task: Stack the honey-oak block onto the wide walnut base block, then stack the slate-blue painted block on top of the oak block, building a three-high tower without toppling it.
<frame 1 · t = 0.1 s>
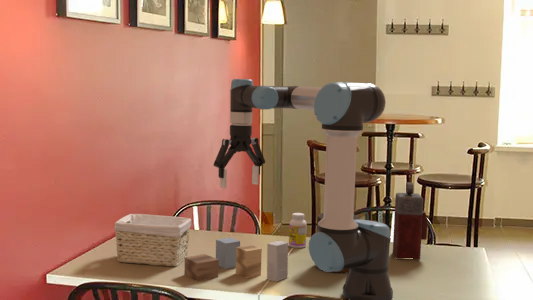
hand: (239, 185, 232), 28 cm above the table, tool pointing down, fingers open, 13 cm apart
wooden container: (336, 267, 236), on the table
base block: (201, 276, 221), on the table
skincare box: (276, 279, 221), on the table
storage basket: (153, 260, 238), on the table
red square decanter: (409, 257, 252), on the table
blue block: (227, 265, 234), on the table
supplement bottle: (297, 246, 263), on the table
oak block: (248, 274, 225), on the table
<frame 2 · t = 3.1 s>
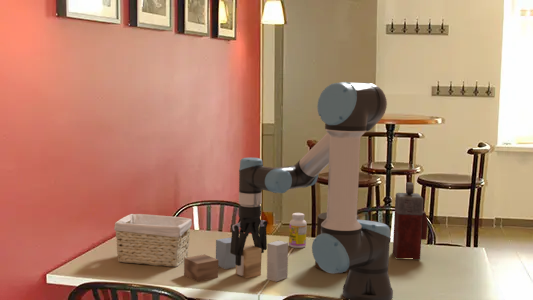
hand: (248, 272, 225), 0 cm above the table, tool pointing down, fingers closed on oak block, 6 cm apart
oak block: (248, 274, 225), on the table, touching gripper
everything else where it was.
when the fingers open (8 cm above the table, at t = 6.5 s): oak block drops 2 cm, resting on base block.
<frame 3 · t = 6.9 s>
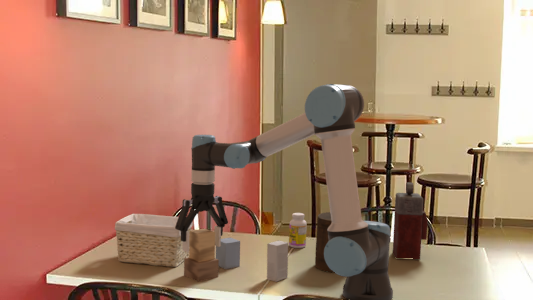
hand: (201, 248, 220), 9 cm above the table, tool pointing down, fingers open, 11 cm apart
base block: (201, 276, 221), on the table, touching oak block
oak block: (201, 258, 221), point 6 cm above the table, touching base block
everything else where it was.
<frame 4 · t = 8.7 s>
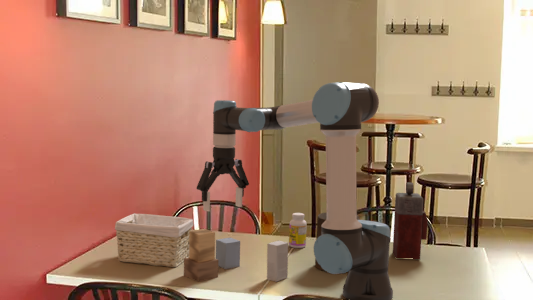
hand: (222, 208, 229), 21 cm above the table, tool pointing down, fingers open, 13 cm apart
nothing on the table moved.
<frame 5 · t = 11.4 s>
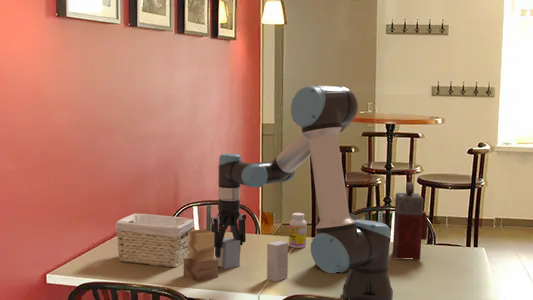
hand: (227, 264, 234), 0 cm above the table, tool pointing down, fingers closed on blue block, 6 cm apart
blue block: (227, 265, 234), on the table, touching gripper
everything else where it was.
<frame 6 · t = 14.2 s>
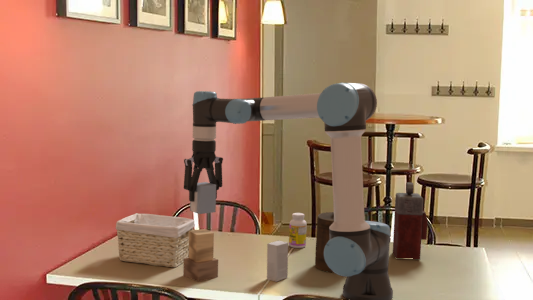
hand: (202, 210, 219), 22 cm above the table, tool pointing down, fingers closed on blue block, 6 cm apart
blue block: (202, 211, 219), point 21 cm above the table, touching gripper
when the fingers open (17 cm above the table, at t = 15.6 s): blue block drops 2 cm, resting on oak block.
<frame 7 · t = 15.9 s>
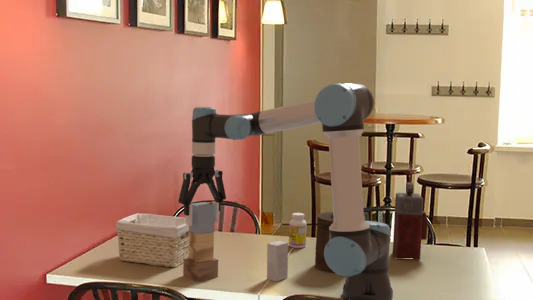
hand: (202, 223, 219), 18 cm above the table, tool pointing down, fingers open, 9 cm apart
base block: (200, 276, 221), on the table
blue block: (201, 231, 220), point 15 cm above the table, touching oak block
oak block: (201, 258, 220), point 6 cm above the table, touching blue block
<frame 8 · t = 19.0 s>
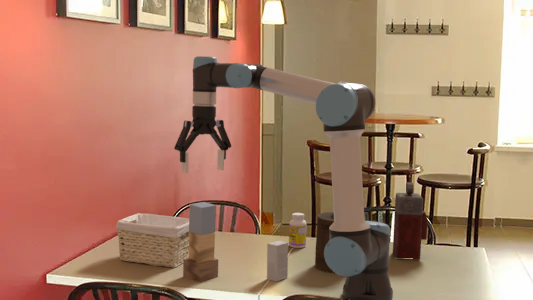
hand: (203, 171, 218), 35 cm above the table, tool pointing down, fingers open, 13 cm apart
base block: (200, 277, 221), on the table, touching oak block
oak block: (201, 259, 220), point 6 cm above the table, touching base block, blue block
at the end: oak block 0.1 cm off-centre on the base block, point 6.2 cm above the base block's base; blue block 0.8 cm off-centre on the oak block, point 9.0 cm above the oak block's base; blue block tilted 3° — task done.
